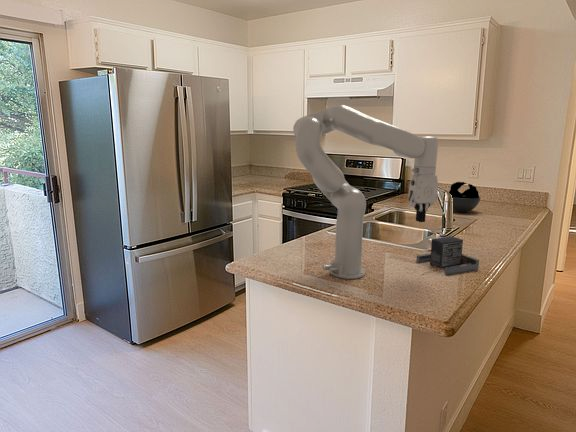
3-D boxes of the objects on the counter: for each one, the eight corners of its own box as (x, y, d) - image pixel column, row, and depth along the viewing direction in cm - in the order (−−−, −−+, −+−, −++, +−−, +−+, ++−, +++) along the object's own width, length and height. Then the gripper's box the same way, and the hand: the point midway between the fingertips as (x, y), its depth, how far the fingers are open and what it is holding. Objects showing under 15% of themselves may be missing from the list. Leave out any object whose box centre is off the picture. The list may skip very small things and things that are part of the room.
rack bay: (447, 275, 155) (448, 264, 154) (416, 261, 170) (417, 251, 169) (478, 269, 161) (479, 259, 160) (445, 257, 176) (445, 247, 175)
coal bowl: (444, 207, 281) (447, 179, 277) (477, 210, 274) (480, 181, 270) (444, 213, 262) (447, 183, 258) (480, 216, 256) (483, 185, 252)
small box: (449, 260, 171) (451, 235, 169) (461, 265, 166) (464, 239, 163) (428, 263, 167) (431, 238, 165) (440, 269, 161) (443, 242, 159)
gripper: (414, 173, 145) (410, 225, 149) (448, 171, 151) (443, 222, 155) (400, 170, 152) (397, 220, 156) (433, 169, 158) (429, 217, 162)
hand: (420, 221), depth 155 cm, fingers closed
